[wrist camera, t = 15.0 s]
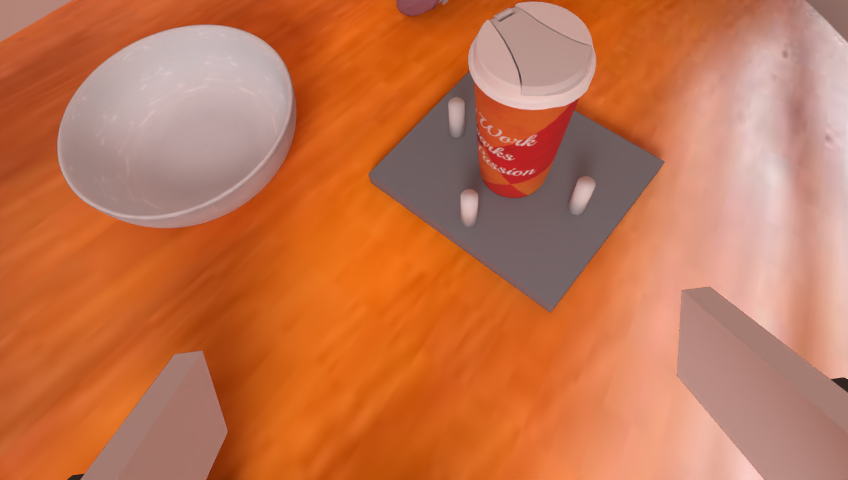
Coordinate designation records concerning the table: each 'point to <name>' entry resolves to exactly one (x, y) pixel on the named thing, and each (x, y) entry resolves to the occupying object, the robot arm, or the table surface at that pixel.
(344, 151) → the table surface
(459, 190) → the plate
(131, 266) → the table surface
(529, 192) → the coffee cup
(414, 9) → the purple lumpy piece
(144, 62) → the serving bowl
